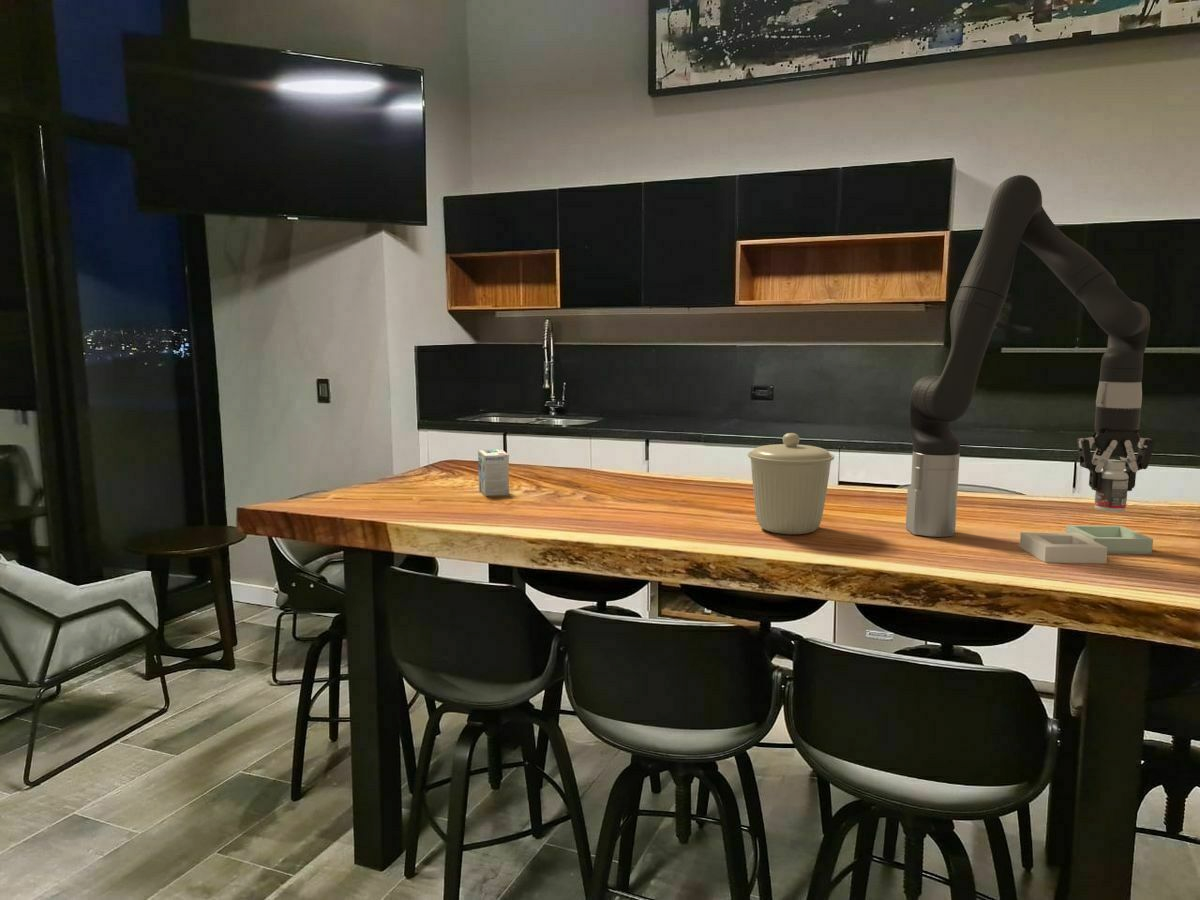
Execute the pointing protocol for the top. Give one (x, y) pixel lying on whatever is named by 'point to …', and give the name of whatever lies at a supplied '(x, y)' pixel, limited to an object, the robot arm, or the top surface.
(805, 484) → the canister
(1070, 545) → the socket block
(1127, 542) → the parts tray
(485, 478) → the light bulb box
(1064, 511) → the top surface
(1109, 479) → the pill bottle
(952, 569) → the top surface
